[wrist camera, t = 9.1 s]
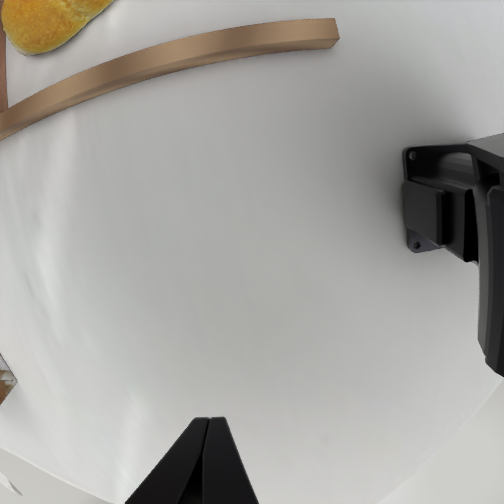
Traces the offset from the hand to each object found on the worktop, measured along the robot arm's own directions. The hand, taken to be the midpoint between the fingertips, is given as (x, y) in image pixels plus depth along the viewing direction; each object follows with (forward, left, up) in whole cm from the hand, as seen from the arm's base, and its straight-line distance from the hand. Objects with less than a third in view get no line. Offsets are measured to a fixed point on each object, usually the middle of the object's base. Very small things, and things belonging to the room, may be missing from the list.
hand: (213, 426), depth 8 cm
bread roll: (+8, -20, -12) cm, 25 cm away
